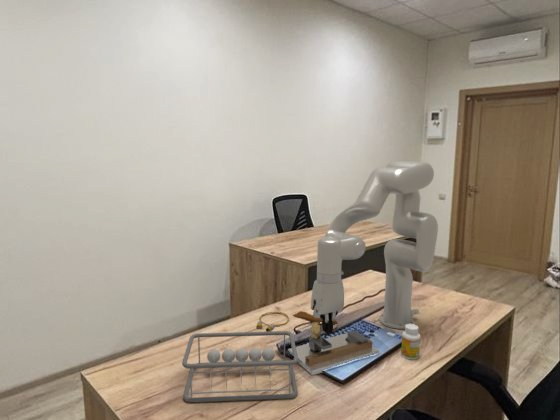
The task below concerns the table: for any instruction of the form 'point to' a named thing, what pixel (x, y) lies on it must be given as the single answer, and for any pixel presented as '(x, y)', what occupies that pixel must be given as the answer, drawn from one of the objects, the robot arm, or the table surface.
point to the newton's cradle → (241, 356)
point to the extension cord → (270, 327)
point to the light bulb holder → (318, 338)
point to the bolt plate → (331, 362)
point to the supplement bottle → (410, 342)
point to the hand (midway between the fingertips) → (327, 331)
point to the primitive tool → (309, 317)
